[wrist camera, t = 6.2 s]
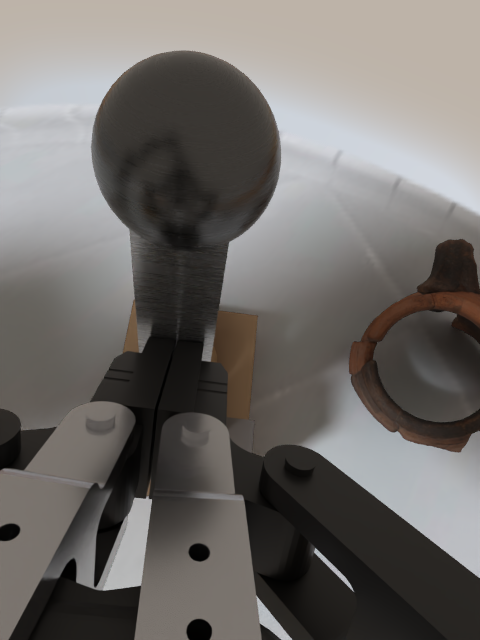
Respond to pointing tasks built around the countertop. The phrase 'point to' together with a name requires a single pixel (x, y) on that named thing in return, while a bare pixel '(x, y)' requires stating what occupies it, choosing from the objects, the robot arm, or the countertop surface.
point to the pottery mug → (434, 295)
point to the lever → (184, 182)
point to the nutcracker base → (226, 368)
